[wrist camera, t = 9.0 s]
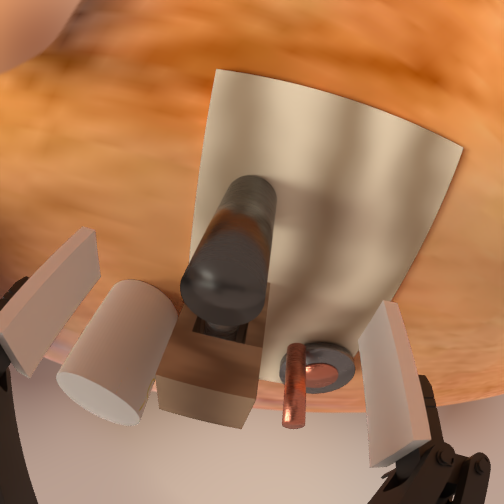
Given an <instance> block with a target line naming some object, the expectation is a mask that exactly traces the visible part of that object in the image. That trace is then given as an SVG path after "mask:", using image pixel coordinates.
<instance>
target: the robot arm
mask: <svg viewBox="0 0 504 504" xmlns="http://www.w3.org/2000/svg"><path fill="white" fill-rule="evenodd" d="M100 277H101V274H100V267H99V259H98V251H97V242H96V232H95V230H94V229H90V228H86V227H83V226H82V227H81V228H80V229H79V230H78V231H77V232H76V233H75V234H74V235H72V236H71V237H70V238H69V239H68V240H67V241H66V242H65V243H64V244H63V245H62V246H61V247H60V248H59V249H58V250H57V251H56V252H55V253H54V254H53V255H52V256H51V257H50V258H49V259H48V260H47V261H46V262H45V263H44V264H43V265H42V266H41V267H40V268H39V269H38V270H37V271H36V272H35V273H34V274H33V275H32V276H31V277H30V278H29V277H24V278H22V279H21V280H19V281H17V282H16V283H15V284H14V285H13V286H12V287H11V288H10V289H9V292H7V293H6V294H5V295H4V296H3V299H0V504H38V502H37V499H36V496H35V493H34V490H33V487H32V484H31V481H30V478H29V474H28V470H27V467H26V463H25V459H24V456H23V451H22V447H21V443H20V438H19V433H18V428H17V423H16V417H15V410H14V403H13V396H12V387H11V376H10V370H9V367H8V366H9V365H10V363H12V364H13V366H14V367H15V368H16V370H17V371H18V372H20V373H21V374H23V375H24V376H26V377H28V378H30V377H31V376H32V374H33V372H34V371H35V369H36V367H37V366H38V364H39V363H40V361H41V359H42V358H43V357H44V355H45V354H46V352H47V350H48V349H49V347H50V346H51V344H52V343H53V341H54V340H55V339H56V337H57V336H58V334H59V333H60V331H61V330H62V328H63V327H64V326H65V324H66V323H67V321H68V320H69V318H70V317H71V316H72V314H73V313H74V312H75V310H76V309H77V307H78V306H79V305H80V303H81V302H82V301H83V299H84V298H85V297H86V295H87V294H88V293H89V291H90V290H91V289H92V287H93V286H94V285H95V284H96V282H97V281H98V280H99V278H100ZM358 344H359V352H360V359H361V367H362V375H363V384H364V393H365V403H366V414H367V426H368V441H369V459H370V468H371V467H372V468H373V467H387V466H389V465H391V464H393V463H394V462H396V468H395V469H393V470H391V471H390V472H388V473H386V474H384V475H383V476H382V477H381V478H382V479H384V478H386V477H388V478H387V479H386V481H385V482H384V483H383V484H382V486H381V487H380V488H379V490H378V491H377V492H376V494H375V495H374V496H373V497H372V499H371V500H370V501H369V502H368V504H484V502H485V497H486V492H487V487H488V482H489V476H490V470H491V469H490V468H491V464H490V461H489V459H488V457H487V456H486V455H485V454H483V453H480V452H479V453H476V454H474V455H473V456H471V457H465V456H462V455H458V454H455V451H454V449H453V448H452V447H451V446H450V445H449V444H447V443H445V442H444V440H443V436H442V431H441V426H440V421H439V417H438V411H437V408H436V402H435V399H434V394H433V390H432V386H431V384H430V383H429V381H428V379H427V378H426V376H425V375H418V373H417V369H416V365H415V361H414V357H413V353H412V350H411V346H410V343H409V339H408V336H407V332H406V329H405V326H404V322H403V319H402V316H401V313H400V310H399V307H398V304H397V303H395V302H390V301H386V300H383V301H382V303H381V304H380V306H379V308H378V309H377V311H376V313H375V314H374V316H373V317H372V319H371V321H370V322H369V324H368V325H367V327H366V329H365V330H364V332H363V333H362V335H361V336H360V338H359V339H358ZM453 495H455V496H454V499H453V501H452V498H453Z"/></svg>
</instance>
